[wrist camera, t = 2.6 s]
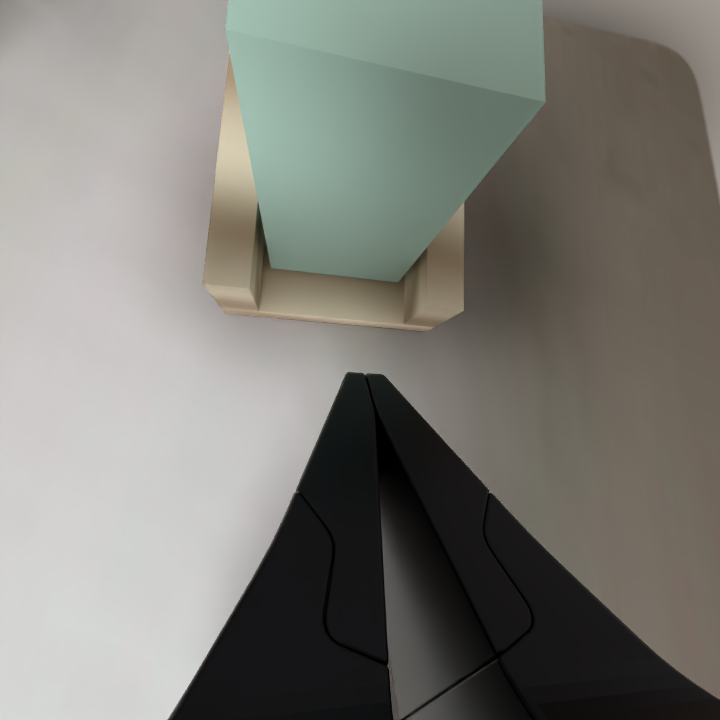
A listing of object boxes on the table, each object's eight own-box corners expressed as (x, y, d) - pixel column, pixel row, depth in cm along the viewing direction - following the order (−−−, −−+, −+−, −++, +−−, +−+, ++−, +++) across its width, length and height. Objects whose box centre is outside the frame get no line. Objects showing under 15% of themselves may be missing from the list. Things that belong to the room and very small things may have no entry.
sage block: (398, 282, 16) (546, 102, 7) (270, 268, 15) (225, 29, 6) (401, 170, 17) (537, -137, 7) (281, 149, 16) (257, -238, 6)
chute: (427, 331, 18) (463, 310, 14) (225, 313, 16) (202, 283, 12) (432, 51, 20) (464, -34, 16) (257, 9, 18) (247, -99, 14)
